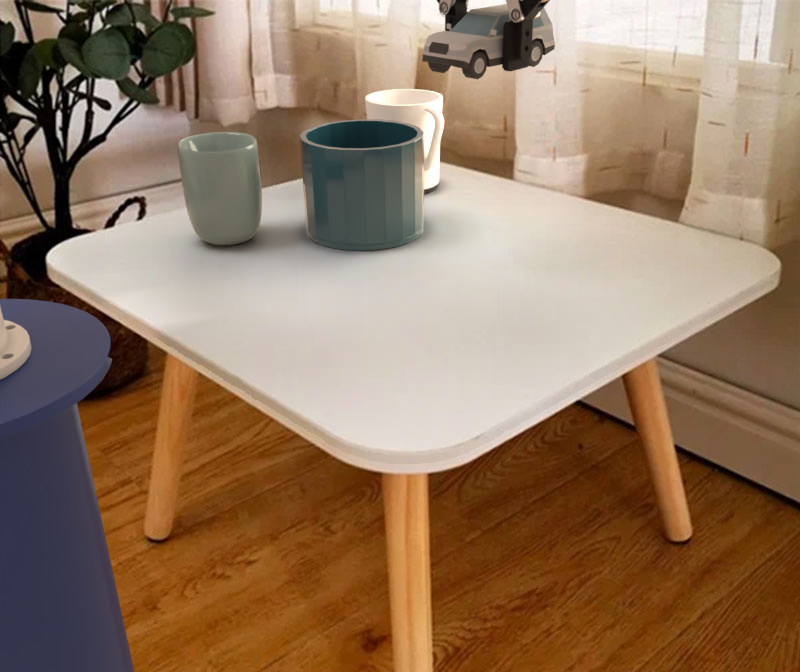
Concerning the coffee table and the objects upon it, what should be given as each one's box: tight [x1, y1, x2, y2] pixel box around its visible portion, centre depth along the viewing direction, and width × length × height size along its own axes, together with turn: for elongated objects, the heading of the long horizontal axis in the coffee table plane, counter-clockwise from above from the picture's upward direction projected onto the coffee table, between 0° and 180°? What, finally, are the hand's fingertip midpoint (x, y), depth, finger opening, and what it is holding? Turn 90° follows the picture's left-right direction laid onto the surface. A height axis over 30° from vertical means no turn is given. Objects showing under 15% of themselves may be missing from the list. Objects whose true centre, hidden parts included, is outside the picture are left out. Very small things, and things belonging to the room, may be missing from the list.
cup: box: [177, 131, 263, 246], centre depth 94 cm, size 8×8×10 cm
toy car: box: [421, 3, 556, 80], centre depth 83 cm, size 6×13×5 cm, turn 133°
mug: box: [364, 88, 445, 195], centre depth 109 cm, size 11×9×10 cm
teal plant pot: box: [299, 118, 425, 251], centre depth 96 cm, size 12×12×10 cm
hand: (486, 62), depth 84 cm, fingers closed on toy car, 5 cm apart
